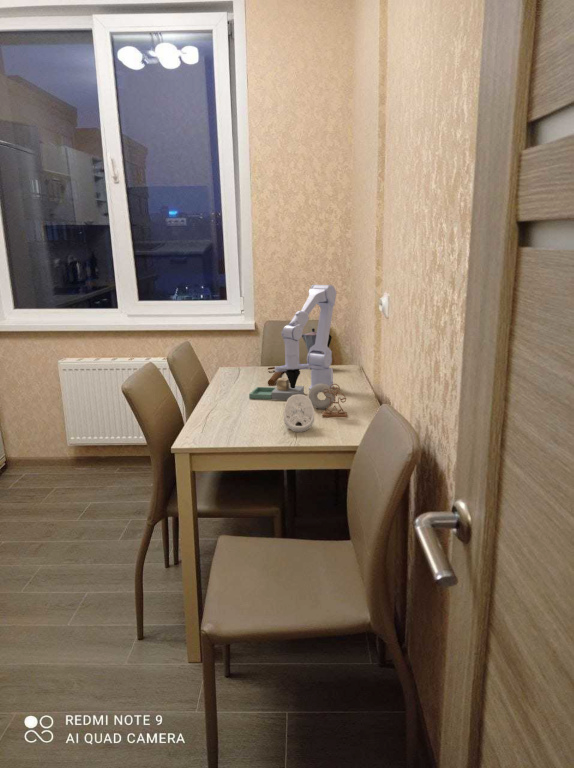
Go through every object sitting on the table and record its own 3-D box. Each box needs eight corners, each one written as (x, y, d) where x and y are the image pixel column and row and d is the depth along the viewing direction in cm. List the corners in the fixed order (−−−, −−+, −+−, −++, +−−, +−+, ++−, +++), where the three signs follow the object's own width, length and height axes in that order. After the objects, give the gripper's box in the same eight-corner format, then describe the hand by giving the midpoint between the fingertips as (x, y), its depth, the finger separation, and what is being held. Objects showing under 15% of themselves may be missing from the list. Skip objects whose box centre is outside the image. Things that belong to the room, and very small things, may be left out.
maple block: (289, 387, 232) (289, 378, 231) (286, 390, 228) (286, 380, 227) (280, 387, 233) (280, 377, 232) (277, 389, 230) (276, 380, 229)
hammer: (281, 386, 249) (293, 371, 277) (280, 379, 248) (292, 365, 276) (255, 385, 251) (269, 371, 279) (255, 379, 250) (269, 365, 279)
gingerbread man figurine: (346, 414, 205) (347, 382, 202) (346, 417, 201) (347, 385, 198) (322, 414, 205) (322, 382, 203) (322, 417, 202) (322, 385, 199)
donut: (307, 409, 211) (307, 384, 209) (309, 407, 215) (309, 381, 212) (334, 410, 209) (334, 384, 207) (335, 408, 213) (335, 382, 210)
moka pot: (302, 365, 289) (301, 327, 284) (332, 365, 287) (332, 327, 282) (300, 369, 280) (299, 329, 275) (331, 370, 277) (331, 329, 273)
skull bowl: (313, 415, 200) (314, 391, 191) (314, 446, 190) (315, 423, 181) (283, 415, 200) (283, 391, 191) (283, 446, 190) (283, 423, 181)
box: (277, 392, 238) (277, 387, 237) (270, 399, 226) (270, 394, 226) (257, 391, 239) (257, 386, 239) (249, 398, 228) (249, 394, 228)
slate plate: (303, 393, 235) (303, 386, 234) (298, 400, 224) (298, 393, 223) (278, 392, 237) (278, 385, 237) (271, 399, 226) (271, 392, 225)
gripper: (305, 351, 232) (305, 383, 235) (272, 354, 227) (272, 387, 231) (311, 354, 226) (311, 387, 229) (277, 357, 221) (278, 391, 224)
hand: (292, 387), depth 229 cm, fingers closed
